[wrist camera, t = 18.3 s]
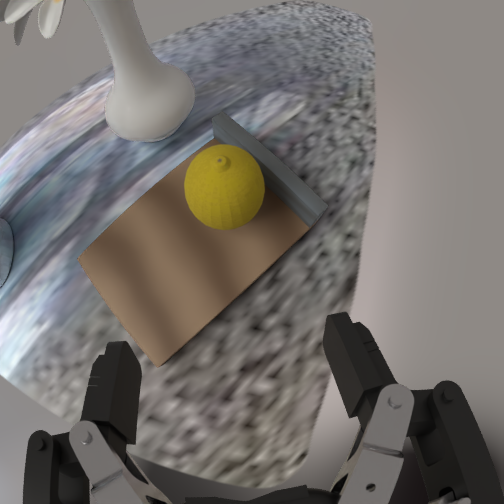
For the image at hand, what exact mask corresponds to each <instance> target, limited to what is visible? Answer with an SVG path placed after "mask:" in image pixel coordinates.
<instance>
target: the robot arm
mask: <svg viewBox="0 0 504 504" xmlns="http://www.w3.org/2000/svg"><path fill="white" fill-rule="evenodd" d="M13 243H14V242H13V234H12V230H11V228H10V226H9V224H8V223H7V221H6V220H4V219H2V218H0V287H1V286H2V284H3V283H4V282H5V280H6V278H7V276H8V273H9V270H10V267H11V263H12V258H13ZM323 347H324V351H325V354H326V357H327V360H328V362H329V365H330V368H331V370H332V373H333V376H334V378H335V381H336V384H337V386H338V389H339V392H340V394H341V397H342V400H343V403H344V405H345V408H346V411H347V413H348V416H349V418H352V417H356V416H358V419H359V422H360V424H361V425H360V427H359V430H358V432H357V435H356V437H355V440H354V442H353V445H352V447H351V450H350V452H349V454H348V457H347V459H346V461H345V463H344V465H343V466H342V468H341V470H340V471H339V473H338V475H337V477H336V479H335V481H334V483H333V485H332V487H331V489H330V491H326V490H322V489H314V488H307V486H306V485H303V486H298V487H294V488H288V489H283V490H277V491H274V492H271V493H269V494H266V495H264V496H261V497H258V498H256V499H253V500H250V501H237V500H229V499H223V498H217V497H203V498H202V497H201V498H200V497H197V498H185V500H186V502H182V503H179V504H388V502H389V500H390V497H391V494H392V492H393V490H394V487H395V484H396V482H397V479H398V476H399V473H400V470H401V467H402V464H403V459H404V455H403V454H402V448H403V444H404V441H405V437H408V436H409V437H410V439H411V442H412V445H413V448H414V451H415V454H416V457H417V460H418V463H419V466H420V470H421V473H422V476H423V479H424V483H425V486H426V489H427V493H428V497H429V500H430V502H429V503H428V504H504V496H503V493H502V489H501V487H500V483H499V480H498V477H497V474H496V471H495V468H494V465H493V462H492V459H491V457H490V454H489V451H488V449H487V446H486V443H485V441H484V439H483V436H482V434H481V431H480V429H479V427H478V424H477V422H476V420H475V418H474V415H473V413H472V411H471V409H470V406H469V404H468V402H467V400H466V398H465V396H464V394H463V392H462V390H461V388H460V387H459V386H458V385H457V384H456V383H454V382H452V381H442V382H440V383H439V384H437V385H436V386H435V388H434V389H429V390H409V389H408V388H407V387H405V386H403V385H401V384H398V383H397V382H396V380H395V378H394V377H393V375H392V373H391V371H390V369H389V367H388V365H387V363H386V361H385V359H384V357H383V355H382V353H381V351H380V350H379V347H378V346H377V344H376V342H375V340H374V338H373V336H372V334H371V333H370V331H369V330H368V328H366V327H365V326H364V325H363V324H361V323H360V322H357V323H352V321H351V319H350V317H349V315H348V313H347V312H341V313H336V314H331V315H328V316H327V318H326V325H325V331H324V336H323ZM141 378H142V371H141V366H140V363H139V361H138V360H137V358H136V356H135V354H134V353H133V351H132V349H131V347H130V346H129V344H128V342H126V341H117V342H109V343H108V344H107V347H106V351H105V355H99V356H98V358H97V359H96V361H95V362H94V364H93V366H92V370H91V374H90V378H89V382H88V387H87V391H86V396H85V401H84V405H83V411H82V416H81V420H80V422H78V423H76V424H75V425H74V426H73V427H72V429H71V431H70V432H67V433H62V434H58V435H52V436H51V435H50V434H48V433H47V432H45V431H43V430H39V431H36V432H34V433H33V434H32V435H31V436H30V438H29V441H28V447H27V455H26V463H25V473H24V487H23V504H90V497H89V495H90V494H89V480H90V481H91V483H92V486H93V488H92V489H91V494H92V496H93V498H94V499H95V501H96V503H97V504H172V503H171V502H170V501H169V499H168V498H167V497H166V496H165V495H164V494H163V493H162V492H161V491H159V490H158V489H157V488H156V487H155V486H154V485H153V484H152V483H151V482H150V480H149V479H148V478H147V477H146V475H145V474H144V473H143V471H142V470H141V469H140V467H139V466H138V465H137V463H136V462H135V461H134V459H133V458H132V456H131V455H130V454H129V452H128V451H127V450H126V445H127V444H133V445H136V429H137V417H138V405H139V395H140V386H141Z"/></svg>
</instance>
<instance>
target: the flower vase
mask: <svg viewBox="0 0 504 504" xmlns="http://www.w3.org/2000/svg"><path fill="white" fill-rule="evenodd" d="M42 1H43V0H0V22H1V21H4V20H5V22H6V23H7V24H11V23H14V22H15V25H14V38H15V43H16V45H20V42H21V39H22V36H23V33H24V30H25V26H26V24H27V21H28V18H29V16H30V14H31V12H32V10H33V8H34V7H35V6H36V5H38V4H39V3H40V2H42ZM65 2H66V0H45V1H44V3H43V4H42V5H41V7H40V10H39V15H38V25H39V29H40V32H41V34H42V35H43V36H44V37H45V38H47V39H48V38H50V37H52V36H53V35H54V34H55V33H56V31H57V29H58V27H59V24H60V21H61V17H62V13H63V9H64V5H65ZM84 2H85V3H86V4H87V6H88V7H89V9H90V10H91V12H92V14H93V15H94V17H95V19H96V21H97V24H98V26H99V28H100V31H101V33H102V36H103V39H104V41H105V44H106V46H107V49H108V52H109V54H110V58H111V60H112V64H113V68H114V84H113V86H112V87H111V89H110V91H109V93H108V95H107V99H106V103H105V117H106V122H107V124H108V126H109V128H110V129H111V131H112V132H113V133H114V134H116V135H117V136H119V137H120V138H122V139H126V140H129V141H143V142H156V141H160V140H163V139H165V138H167V137H169V136H170V135H172V134H173V133H174V132H175V131H176V130H177V129H178V128H179V127H180V125H181V124H182V123H183V122H184V121H185V119H186V118H187V116H188V115H189V113H190V112H191V110H192V108H193V105H194V102H195V87H194V85H193V83H192V81H191V79H190V77H189V76H188V75H187V74H186V73H185V72H184V71H183V70H181V69H180V68H178V67H176V66H174V65H171V64H169V63H163V62H161V61H160V60H159V59H158V58H157V57H156V56H155V55H154V54H153V52H152V51H151V49H150V47H149V45H148V43H147V41H146V38H145V36H144V33H143V30H142V28H141V25H140V22H139V20H138V17H137V14H136V11H135V7H134V3H133V0H84Z"/></svg>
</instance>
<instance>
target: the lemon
mask: <svg viewBox="0 0 504 504" xmlns="http://www.w3.org/2000/svg"><path fill="white" fill-rule="evenodd" d="M184 189H185V198H186V201H187V203H188V206H189V208H190V210H191V211H192V213H193V214H194V215H195V217H196V218H197V219H198V220H200V221H201V222H202V223H203V224H205V225H207V226H209V227H211V228H214V229H219V230H232V229H236V228H238V227H241V226H243V225H245V224H246V223H248V222H249V221H250V220H251V219H252V218H253V217H254V216H255V215H256V214H257V212H258V210H259V209H260V207H261V205H262V202H263V197H264V193H265V187H264V178H263V175H262V172H261V169H260V167H259V165H258V163H257V162H256V160H255V159H254V158H253V157H252V156H251V155H250V154H249V153H248V152H247V151H245V150H243V149H241V148H239V147H237V146H233V145H228V144H220V145H215V146H211V147H209V148H207V149H205V150H203V151H202V152H200V153H199V154H198V155H197V156H196V157H195V158H194V159H193V160H192V162H191V163H190V165H189V167H188V169H187V172H186V177H185V182H184Z"/></svg>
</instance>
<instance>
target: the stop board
mask: <svg viewBox="0 0 504 504" xmlns="http://www.w3.org/2000/svg"><path fill="white" fill-rule="evenodd" d="M211 120H212V126H213V132H214V139H212V140H211V141H209V142H208V143H207V144H205V145H204V146H203V147H201V148H200V149H199V150H197V151H196V152H195V153H194V154H192V155H191V156H190V157H188V158H187V159H186V160H185V161H183V162H182V163H181V164H179V165H178V166H177V167H176V168H175V169H173V170H172V171H171V172H170V173H168V174H167V175H166V176H165V177H164V178H162V179H161V180H160V181H159V182H158V183H156V184H155V185H154V186H153V187H152V188H151V189H149V190H148V191H147V192H146V193H145V194H144V195H143V196H141V197H140V198H139V199H138V200H137V201H136V202H135V203H134V204H132V205H131V206H130V207H129V208H128V209H127V210H126V211H125V212H124V213H123V214H122V215H120V216H119V217H118V218H117V219H116V220H115V221H114V222H113V223H112V224H111V225H110V226H109V227H108V228H107V229H106V230H105V231H104V232H103V233H102V234H101V235H100V236H99V237H98V238H97V239H96V240H95V241H94V242H93V243H92V244H91V245H90V246H89V247H88V248H87V249H86V250H85V251H84V252H83V253H82V254H81V255H80V256H79V257H78V258H77V260H78V261H79V263H80V265H81V266H82V268H83V269H84V271H85V272H86V274H87V276H88V277H89V279H90V280H91V282H92V283H93V285H94V286H95V288H96V289H97V291H98V292H99V294H100V295H101V296H102V298H103V299H104V301H105V302H106V304H107V305H108V306H109V308H110V309H111V311H112V312H113V313H114V315H115V316H116V317H117V319H118V320H119V321H120V323H121V324H122V325H123V327H124V328H125V329H126V330H127V332H128V333H129V334H130V336H131V337H132V338H133V339H134V341H135V342H136V343H137V344H138V346H139V347H140V348H141V349H142V350H143V352H144V353H145V354H146V355H147V356H148V358H149V359H150V360H151V361H152V362H153V363H154V364H155V366H156V367H157V368H158V367H160V366H161V365H163V364H164V363H165V362H166V361H168V360H169V359H170V358H171V357H172V356H173V355H174V354H175V353H177V352H178V351H179V350H180V349H181V348H182V347H183V346H184V345H186V344H187V343H188V342H189V341H190V340H191V339H192V338H193V337H194V336H196V335H197V334H198V333H199V332H200V331H201V330H202V329H203V328H204V327H206V326H207V325H208V324H209V323H210V322H211V321H212V320H213V319H214V318H215V317H217V316H218V315H219V314H220V313H221V312H222V311H223V310H224V309H225V308H226V307H228V306H229V305H230V304H231V303H232V302H233V301H234V300H235V299H236V298H237V297H238V296H239V295H241V294H242V293H243V292H244V291H245V290H246V289H247V288H248V287H249V286H250V285H251V284H252V283H254V282H255V281H256V280H257V279H258V278H259V277H260V276H261V275H262V274H263V273H264V272H265V271H266V270H267V269H269V268H270V267H271V266H272V265H273V264H274V263H275V262H276V261H277V260H278V259H279V258H280V257H281V256H282V255H283V254H284V253H286V252H287V251H288V250H289V249H290V248H291V247H292V246H293V245H294V244H295V243H296V242H297V241H298V240H299V239H300V238H301V237H302V236H303V235H304V234H305V233H307V232H308V231H309V230H310V229H311V228H312V227H313V226H314V225H315V224H316V222H317V221H318V220H319V218H320V217H321V216H322V214H323V213H324V212H325V210H326V209H327V208H328V205H327V204H326V203H325V202H324V201H323V200H322V199H321V198H320V197H319V196H318V195H317V194H316V193H315V192H314V191H313V190H312V189H311V188H310V187H309V186H308V185H307V184H306V183H304V182H303V181H302V180H301V179H300V178H299V177H298V176H297V175H296V174H295V173H294V172H293V171H292V170H291V169H289V168H288V167H287V166H286V165H285V164H284V163H283V162H282V161H281V160H280V159H278V158H277V157H276V156H275V155H274V154H273V153H272V152H271V151H269V150H268V149H267V148H266V147H265V146H264V145H262V144H261V143H260V142H259V141H258V140H257V139H256V138H254V137H253V136H252V135H251V134H250V133H248V132H247V131H246V130H245V129H244V128H242V127H241V126H240V125H239V124H238V123H236V122H235V121H234V120H233V119H231V118H230V117H229V116H228V115H226V114H225V113H224V112H223V111H222V112H220V113H219V114H217V115H216V116H214V117H213V118H211ZM220 144H228V145H233V146H237V147H239V148H241V149H243V150H245V151H247V152H248V153H249V154H250V155H251V156H252V157H253V158H254V159H255V160H256V162H257V163H258V165H259V167H260V169H261V172H262V175H263V178H264V187H265V193H264V197H263V202H262V205H261V207H260V209H259V210H258V212H257V214H256V215H255V216H254V217H253V218H252V219H251V220H250V221H249V222H248V223H246V224H245V225H243V226H241V227H238V228H236V229H232V230H219V229H214V228H211V227H209V226H207V225H205V224H203V223H202V222H201V221H200V220H198V219H197V218H196V217H195V215H194V214H193V213H192V211H191V210H190V208H189V206H188V203H187V201H186V198H185V189H184V182H185V177H186V172H187V169H188V167H189V165H190V163H191V162H192V160H193V159H194V158H195V157H196V156H197V155H198V154H199V153H200V152H202V151H203V150H205V149H207V148H209V147H211V146H215V145H220Z"/></svg>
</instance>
